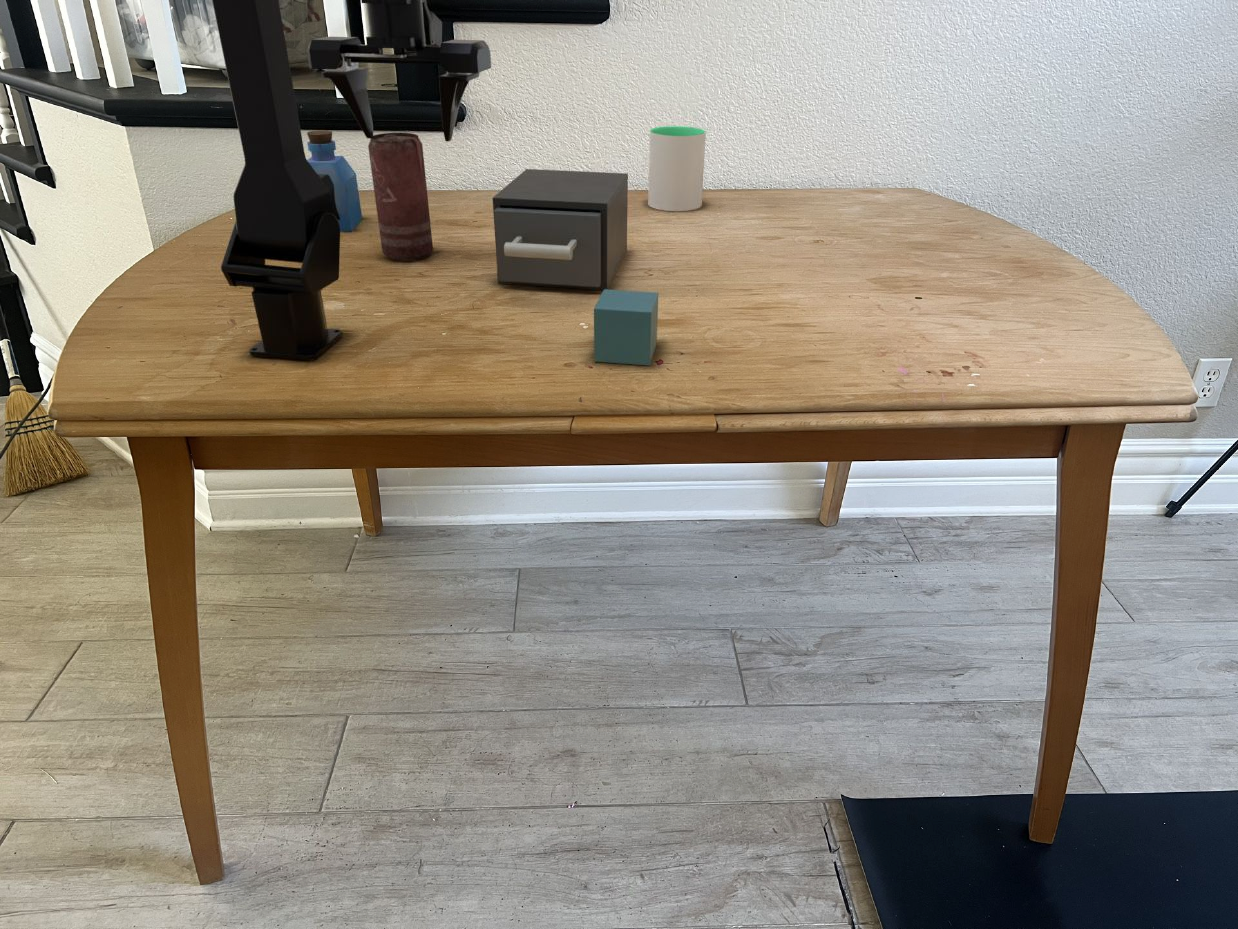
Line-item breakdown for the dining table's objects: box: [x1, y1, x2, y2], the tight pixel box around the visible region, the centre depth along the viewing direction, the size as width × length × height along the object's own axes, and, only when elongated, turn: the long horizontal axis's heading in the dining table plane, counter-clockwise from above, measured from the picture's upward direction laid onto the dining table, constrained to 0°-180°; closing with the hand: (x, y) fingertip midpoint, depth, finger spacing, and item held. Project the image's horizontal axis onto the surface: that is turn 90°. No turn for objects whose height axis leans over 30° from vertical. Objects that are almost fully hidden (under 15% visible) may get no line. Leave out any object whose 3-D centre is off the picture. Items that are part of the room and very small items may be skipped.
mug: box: [647, 125, 707, 212], centre depth 127 cm, size 12×8×10 cm, turn 14°
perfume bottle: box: [306, 129, 363, 232], centre depth 114 cm, size 6×6×12 cm
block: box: [593, 288, 659, 367], centre depth 79 cm, size 5×5×5 cm
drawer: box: [493, 206, 601, 287], centre depth 96 cm, size 18×11×8 cm, turn 171°
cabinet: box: [492, 168, 629, 291], centre depth 100 cm, size 15×13×10 cm
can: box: [367, 132, 434, 263], centre depth 102 cm, size 6×6×14 cm
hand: (409, 139), depth 96 cm, fingers open, 9 cm apart
